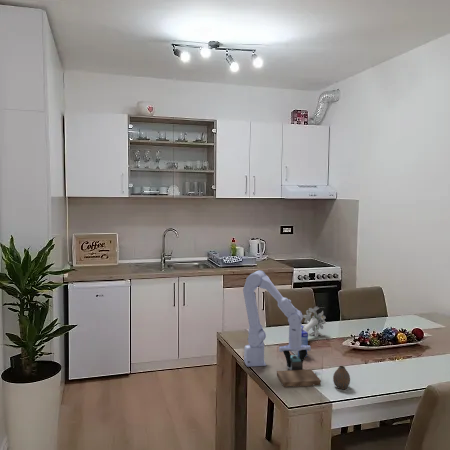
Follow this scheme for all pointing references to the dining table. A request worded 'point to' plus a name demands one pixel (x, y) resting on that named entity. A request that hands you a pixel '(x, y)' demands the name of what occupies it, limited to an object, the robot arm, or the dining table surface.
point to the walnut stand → (298, 378)
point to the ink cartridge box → (302, 341)
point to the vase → (341, 378)
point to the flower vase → (314, 321)
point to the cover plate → (294, 358)
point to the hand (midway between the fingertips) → (294, 366)
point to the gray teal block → (296, 365)
